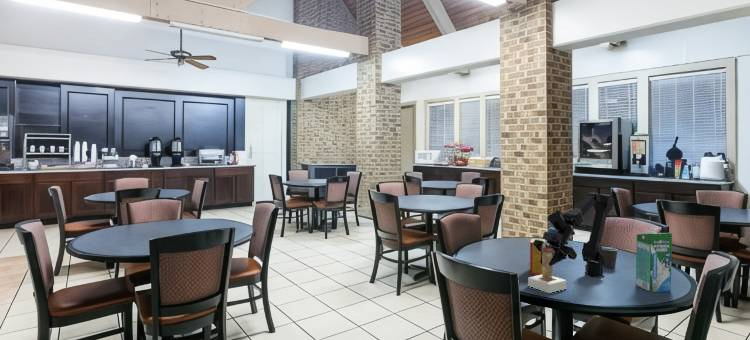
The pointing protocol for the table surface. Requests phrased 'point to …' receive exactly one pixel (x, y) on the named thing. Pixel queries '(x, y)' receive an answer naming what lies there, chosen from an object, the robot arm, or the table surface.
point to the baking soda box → (535, 258)
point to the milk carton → (654, 261)
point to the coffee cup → (610, 256)
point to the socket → (547, 284)
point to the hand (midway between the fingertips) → (545, 264)
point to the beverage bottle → (552, 232)
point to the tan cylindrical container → (546, 263)
